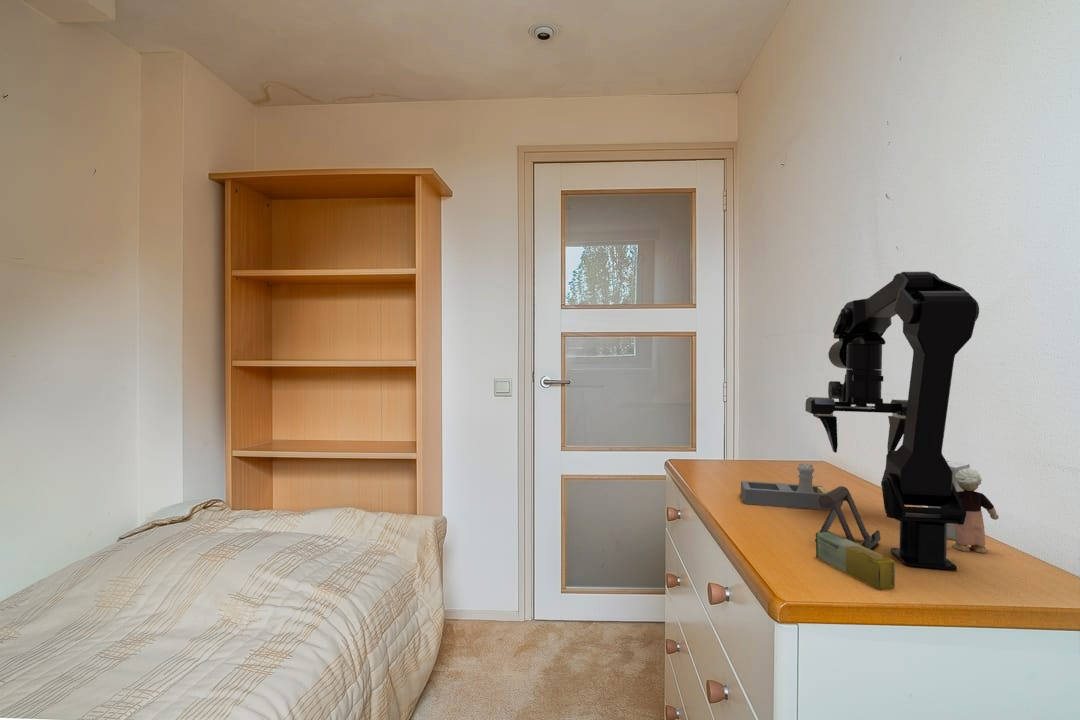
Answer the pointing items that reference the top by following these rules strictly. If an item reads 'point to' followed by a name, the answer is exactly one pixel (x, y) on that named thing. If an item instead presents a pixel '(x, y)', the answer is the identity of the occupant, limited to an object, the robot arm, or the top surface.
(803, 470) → the rook chess piece
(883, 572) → the medication box
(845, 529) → the portable electronic device stand
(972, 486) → the grandmother figurine
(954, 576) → the top surface
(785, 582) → the top surface
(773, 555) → the top surface
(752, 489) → the rail
